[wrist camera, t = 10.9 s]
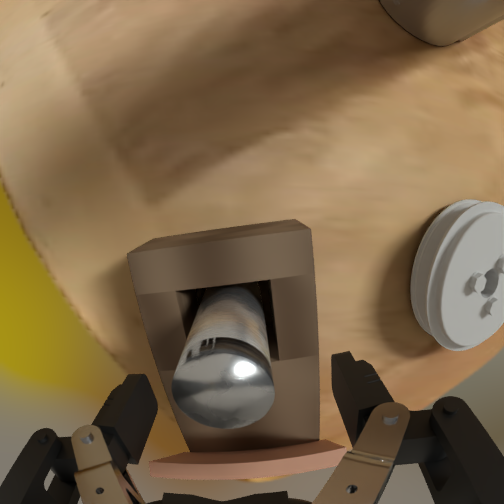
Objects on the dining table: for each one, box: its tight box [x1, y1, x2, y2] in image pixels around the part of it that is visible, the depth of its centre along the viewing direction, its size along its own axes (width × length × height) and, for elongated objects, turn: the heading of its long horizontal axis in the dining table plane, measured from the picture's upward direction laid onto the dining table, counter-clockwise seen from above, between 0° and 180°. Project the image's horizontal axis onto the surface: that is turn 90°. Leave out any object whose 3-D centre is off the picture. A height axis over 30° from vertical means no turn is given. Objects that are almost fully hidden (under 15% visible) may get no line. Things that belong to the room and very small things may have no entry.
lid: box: [410, 199, 504, 351], centre depth 19 cm, size 13×13×5 cm
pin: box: [171, 281, 275, 429], centre depth 16 cm, size 4×4×11 cm
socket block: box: [127, 219, 320, 452], centre depth 19 cm, size 10×16×5 cm, turn 7°
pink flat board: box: [149, 439, 347, 480], centre depth 15 cm, size 11×7×1 cm
